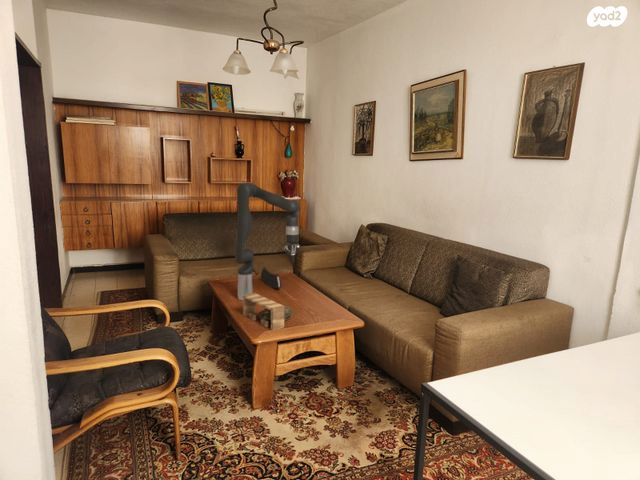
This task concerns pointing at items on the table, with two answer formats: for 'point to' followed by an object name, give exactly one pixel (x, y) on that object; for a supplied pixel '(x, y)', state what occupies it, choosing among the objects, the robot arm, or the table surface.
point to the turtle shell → (267, 314)
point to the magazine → (271, 279)
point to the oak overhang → (275, 308)
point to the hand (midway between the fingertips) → (291, 261)
